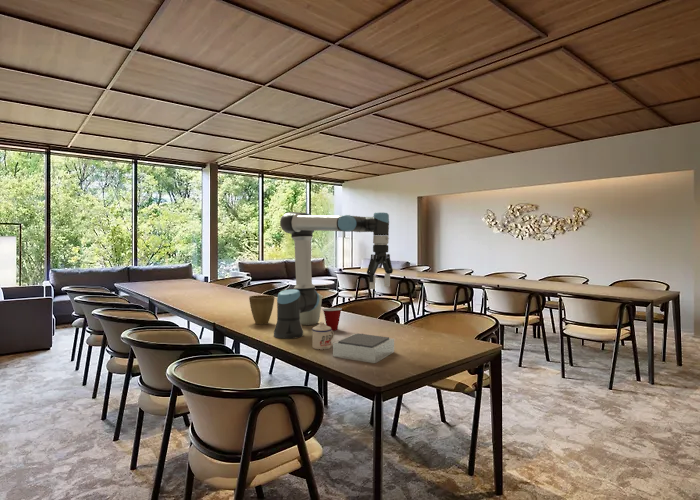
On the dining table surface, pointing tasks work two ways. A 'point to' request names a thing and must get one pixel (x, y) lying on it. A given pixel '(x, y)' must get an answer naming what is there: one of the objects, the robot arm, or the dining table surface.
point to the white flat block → (363, 347)
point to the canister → (311, 314)
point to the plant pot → (261, 308)
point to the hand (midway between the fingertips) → (379, 287)
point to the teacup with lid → (322, 336)
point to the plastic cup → (332, 317)
